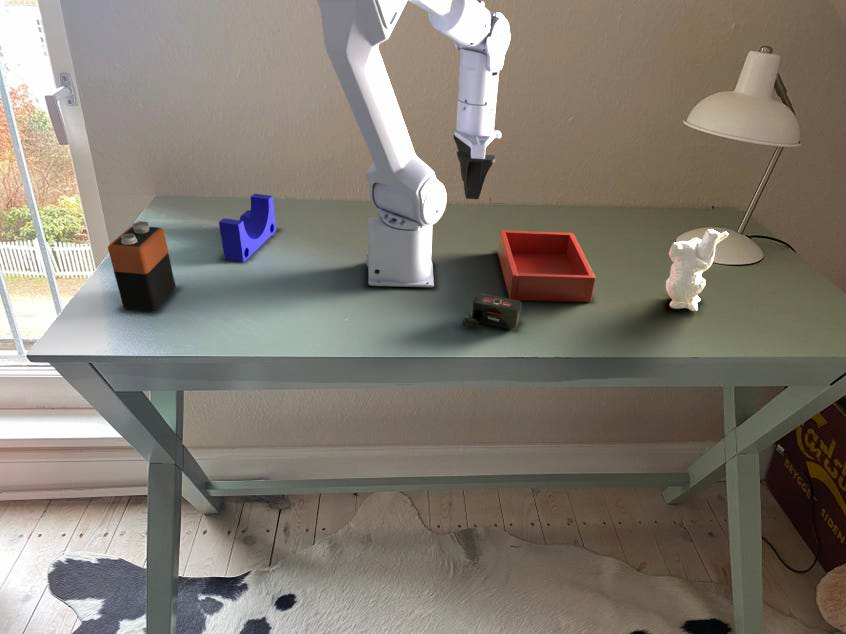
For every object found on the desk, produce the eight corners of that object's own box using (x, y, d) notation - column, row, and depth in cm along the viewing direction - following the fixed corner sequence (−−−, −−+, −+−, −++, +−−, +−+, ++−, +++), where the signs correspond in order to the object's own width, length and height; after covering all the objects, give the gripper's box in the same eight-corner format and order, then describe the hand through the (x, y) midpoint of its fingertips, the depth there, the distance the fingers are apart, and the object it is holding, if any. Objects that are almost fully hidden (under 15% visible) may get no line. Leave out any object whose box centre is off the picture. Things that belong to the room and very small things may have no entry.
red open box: (509, 300, 96) (512, 275, 94) (497, 252, 109) (500, 230, 106) (590, 302, 97) (595, 277, 95) (569, 255, 110) (573, 232, 108)
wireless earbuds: (469, 311, 92) (471, 291, 90) (519, 321, 91) (522, 301, 89) (460, 328, 89) (462, 307, 87) (512, 338, 87) (515, 317, 86)
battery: (177, 288, 91) (163, 220, 85) (156, 313, 86) (139, 242, 80) (145, 285, 91) (129, 217, 85) (122, 310, 85) (103, 239, 80)
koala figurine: (699, 294, 102) (721, 221, 96) (717, 316, 97) (742, 241, 90) (647, 293, 101) (665, 220, 94) (662, 316, 96) (683, 240, 89)
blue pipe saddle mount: (250, 227, 109) (245, 192, 106) (276, 230, 109) (272, 195, 105) (215, 258, 99) (208, 220, 96) (243, 262, 99) (238, 224, 96)
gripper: (509, 115, 92) (500, 207, 100) (498, 90, 104) (490, 174, 112) (459, 112, 91) (454, 205, 99) (453, 87, 103) (448, 172, 111)
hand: (470, 189), depth 105 cm, fingers open, 7 cm apart
